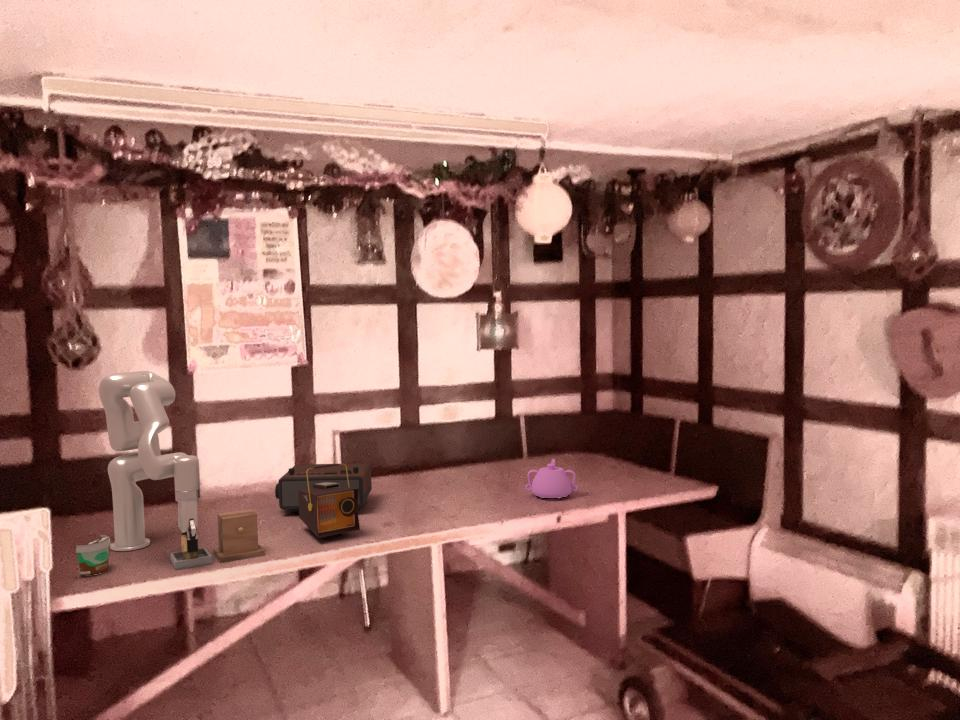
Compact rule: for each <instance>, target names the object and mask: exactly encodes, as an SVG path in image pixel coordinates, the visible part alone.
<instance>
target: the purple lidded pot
mask: <svg viewBox="0 0 960 720" xmlns="http://www.w3.org/2000/svg"><path fill="white" fill-rule="evenodd" d="M546 465H547V466H545V467H541V468H539V469H531V470H529V471H528V473H527V481H528V483H527V484H526V485H525V490H526V491H528V492H531V493H532V494H533V495H534V496H535V495H536V496H539V497H544V498H558V497H564V496H568V495H569V494H570V495H571V494H572V492H577V491H579V487H578V485H577V484H575V483H576V479H577V474H576V472H574V471H573V470H571V469H567V470H565V469H564V467H563V468H562V467H560V466H556V459H555V458H552V459H551V462H550V463H547V464H546ZM532 473H535V475H534V477H533V479H532V480H531V474H532ZM567 473H569V474H572V476H573V477H572V481H571V479H570V477H569V475H568V474H567ZM570 495H569V496H570ZM536 496H535V497H536ZM569 496H568V497H569Z"/></svg>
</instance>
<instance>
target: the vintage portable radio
mask: <svg viewBox="0 0 960 720" xmlns="http://www.w3.org/2000/svg"><path fill="white" fill-rule="evenodd" d="M332 464H333V465H327V466H320V467H314V469H316V468H323V467H329V466H336V465H340V464H341V463H332ZM342 464H343V465H345V463H342ZM345 467H346V473H347V466H346V465H345ZM310 469H313V468H310ZM308 470H309V469H308ZM308 470H307V472H308ZM307 472H306V475H307V483H308V489H303V490H298V495H299V512H298V515H299V519H300V520H301V521H302V523H304V524H305V525H306V527H308V529H309V530H310V531H311V532H312V533H313V534H314V535H315V537H316V538H318V539H322V538H324V539H325V538H326V537H330V536H335V535H339V534H345V533H350V532H355V531H360V530H361V526H360V519H359V510H357V509H358V492H359V488H350V487H349V480H348V473H347V481H348V488H347V487H340V483H331V482H323V483H317V484H313V488H309V482H308V474H307Z"/></svg>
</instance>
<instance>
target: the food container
mask: <svg viewBox="0 0 960 720" xmlns="http://www.w3.org/2000/svg"><path fill="white" fill-rule="evenodd" d="M111 544H112V541H111V538H110V537H109V536H108V535H106V534H101V535H100V537H99V538H97V539H94V540H91V541H88V542H87V543H85V544H83V545H77V544H76V548H75V553H76V554H77V560H78V567H79V575H80V577H81V576H86V575H94V574H99V573H102V574H104V573H106V572H108V571H109V555H110V545H111ZM107 570H108V571H107ZM105 571H106V572H105ZM103 572H104V573H103ZM99 575H100V574H99Z"/></svg>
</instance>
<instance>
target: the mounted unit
mask: <svg viewBox="0 0 960 720" xmlns="http://www.w3.org/2000/svg"><path fill="white" fill-rule="evenodd" d="M216 515H217V531H218V532H217V534H218V535H217V537H218V547H215V548H213V549H212V550H213V551H212V553H213V554H214V556H215V557H216V559H217V560H218V561H219V563H220V564H221V563H222V564H223V563H226V562H227V563H228V562H234V561H239V560H240V561H241V560H246V559H250V558H256V557H262V556H265V555H266V554H265V552H266V551H265V550H264V549H263V548H262V547H261V545H260V544H259V534H258V530H259V529H258V528H259V527H258V514H257V512H255V511H254V510H253V509H252V508H247V509H241V510H233V511H226V512H221V513H220V512H218V513H217V514H216Z"/></svg>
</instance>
